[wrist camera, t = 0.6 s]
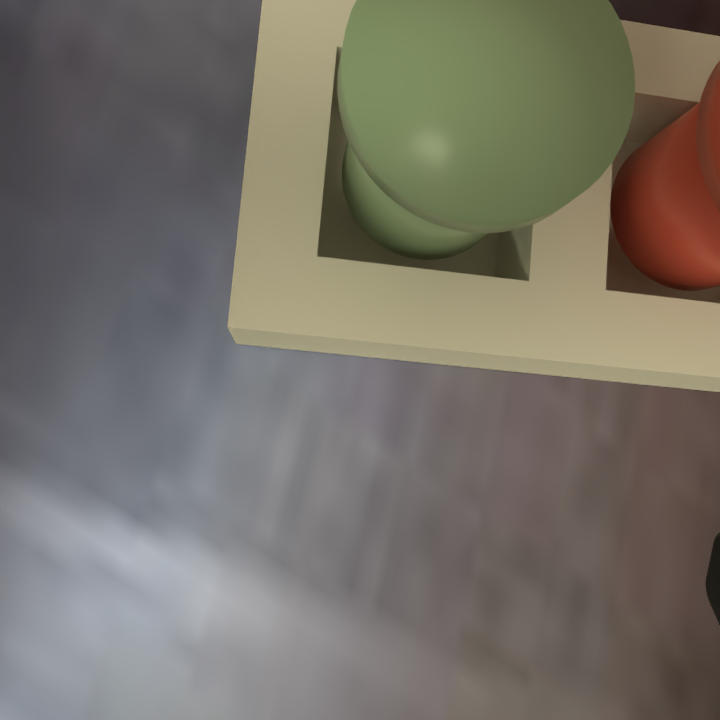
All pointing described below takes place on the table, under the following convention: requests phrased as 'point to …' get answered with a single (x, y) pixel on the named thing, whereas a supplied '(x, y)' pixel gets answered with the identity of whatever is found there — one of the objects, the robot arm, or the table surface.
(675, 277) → the red button
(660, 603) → the table surface
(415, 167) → the sage green button
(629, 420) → the table surface
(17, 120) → the table surface
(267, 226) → the button console
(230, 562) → the table surface
